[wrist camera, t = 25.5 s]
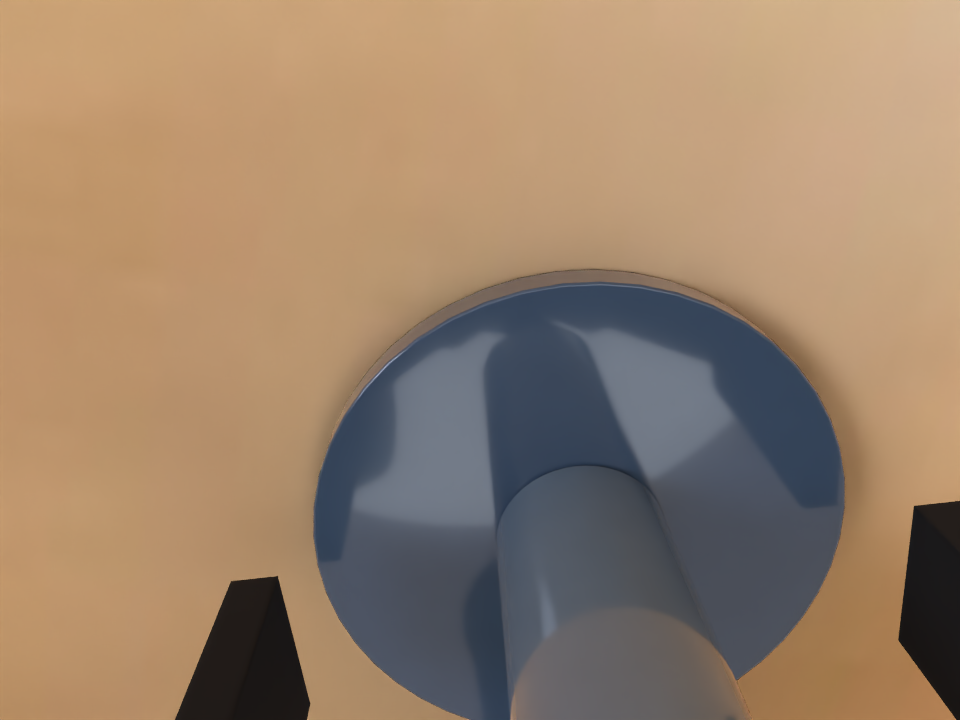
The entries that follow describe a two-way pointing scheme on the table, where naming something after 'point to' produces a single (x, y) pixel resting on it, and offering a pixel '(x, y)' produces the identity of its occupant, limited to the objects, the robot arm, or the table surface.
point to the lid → (579, 502)
